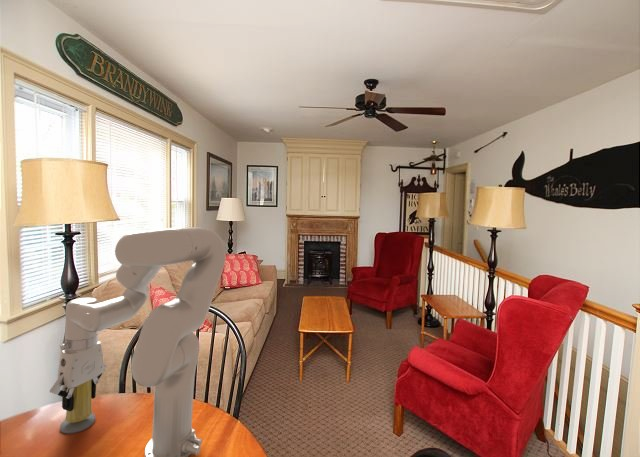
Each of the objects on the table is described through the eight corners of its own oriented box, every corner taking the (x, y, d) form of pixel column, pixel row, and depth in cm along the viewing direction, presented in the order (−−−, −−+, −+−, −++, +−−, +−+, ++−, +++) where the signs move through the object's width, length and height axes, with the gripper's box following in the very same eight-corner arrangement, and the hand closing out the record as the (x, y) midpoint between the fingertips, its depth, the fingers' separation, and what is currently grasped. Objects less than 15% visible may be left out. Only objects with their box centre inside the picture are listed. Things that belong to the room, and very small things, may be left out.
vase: (97, 410, 91) (99, 364, 91) (79, 424, 85) (80, 374, 85) (78, 408, 92) (80, 361, 91) (59, 421, 86) (60, 372, 85)
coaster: (101, 418, 91) (102, 416, 91) (73, 436, 84) (74, 433, 84) (82, 412, 94) (82, 409, 94) (52, 429, 86) (53, 426, 86)
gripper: (58, 356, 78) (56, 425, 79) (119, 333, 95) (116, 390, 96) (37, 351, 80) (35, 418, 81) (100, 329, 97) (98, 385, 98)
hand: (79, 402), depth 88 cm, fingers closed on vase, 5 cm apart
